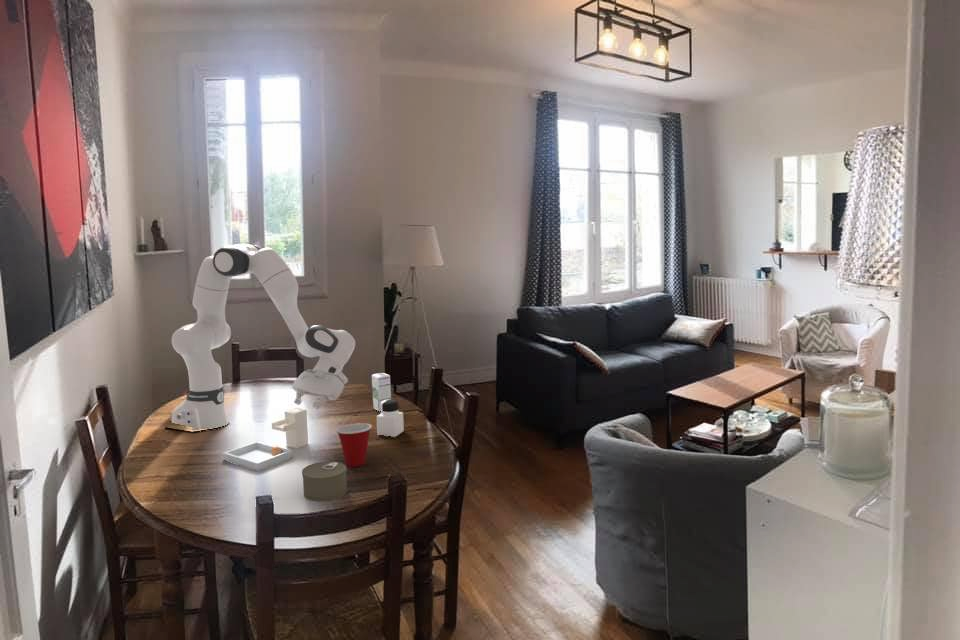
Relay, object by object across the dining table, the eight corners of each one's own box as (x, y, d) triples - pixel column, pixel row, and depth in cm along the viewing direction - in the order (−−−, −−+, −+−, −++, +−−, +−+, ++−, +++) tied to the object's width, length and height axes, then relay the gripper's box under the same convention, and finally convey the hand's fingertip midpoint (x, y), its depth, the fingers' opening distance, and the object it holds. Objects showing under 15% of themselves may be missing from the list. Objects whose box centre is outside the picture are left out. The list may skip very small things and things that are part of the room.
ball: (280, 454, 207) (276, 459, 204) (271, 450, 207) (267, 455, 204) (284, 447, 206) (280, 452, 203) (274, 442, 206) (271, 447, 203)
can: (293, 498, 175) (292, 474, 174) (319, 481, 186) (318, 459, 185) (331, 504, 171) (330, 480, 170) (355, 487, 182) (354, 464, 181)
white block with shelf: (297, 441, 221) (295, 407, 219) (309, 444, 218) (307, 410, 216) (273, 449, 213) (271, 414, 211) (285, 453, 209) (283, 417, 208)
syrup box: (392, 410, 257) (391, 374, 255) (378, 412, 254) (377, 376, 252) (385, 407, 262) (384, 372, 259) (372, 409, 258) (371, 374, 256)
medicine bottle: (404, 431, 231) (403, 398, 229) (395, 437, 224) (394, 404, 222) (386, 429, 233) (385, 397, 231) (376, 435, 226) (375, 402, 224)
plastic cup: (360, 454, 207) (358, 418, 205) (379, 463, 200) (378, 426, 198) (330, 463, 200) (328, 426, 198) (350, 473, 192) (348, 434, 190)
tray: (223, 460, 203) (222, 453, 203) (257, 448, 214) (257, 441, 214) (257, 471, 194) (257, 463, 194) (292, 458, 205) (291, 450, 204)
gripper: (300, 363, 229) (280, 396, 223) (341, 370, 218) (321, 405, 211) (311, 373, 234) (290, 406, 227) (351, 380, 222) (331, 415, 216)
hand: (305, 405), depth 219 cm, fingers open, 8 cm apart
